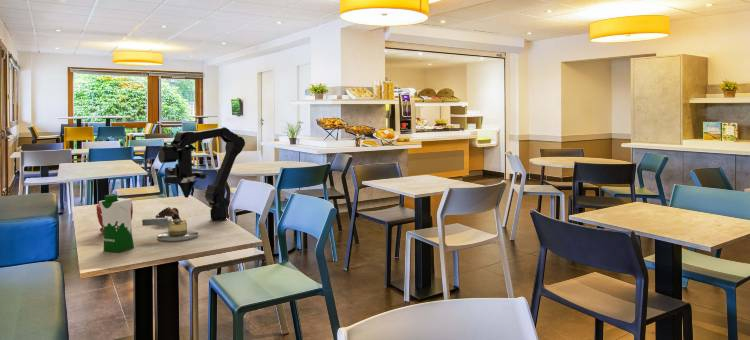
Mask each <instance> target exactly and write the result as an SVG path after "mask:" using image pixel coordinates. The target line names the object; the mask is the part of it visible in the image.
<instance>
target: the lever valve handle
mask: <svg viewBox="0 0 750 340" xmlns="http://www.w3.org/2000/svg"><path fill="white" fill-rule="evenodd" d="M141 222H142V224H141V225H142V227H148V226H163V228H167V232H168V235H173V236H176V235H184V234H187V230H188V222H187V219H181V222H179V223H178V224H175V223H174V222H173V219H172V218H170V219H169V218H168V217H165V218H156V217H155V218H154V217H151V218H142V220H141Z"/></svg>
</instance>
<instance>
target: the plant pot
mask: <svg viewBox="0 0 750 340" xmlns="http://www.w3.org/2000/svg"><path fill="white" fill-rule="evenodd" d="M133 209H134V208H133V204H132V205H131V221H132V219H133V212H134V211H133ZM96 216H97V220H98V223H99V225H100V228H99V230H100V232H101V233H102V234H103V219H102V211H101V208H100V204H99V203H98V204H97V205H96ZM132 227H133V226H132V225H131V228H132Z"/></svg>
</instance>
